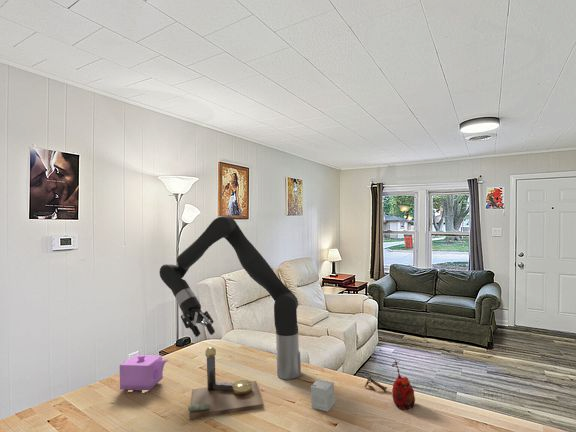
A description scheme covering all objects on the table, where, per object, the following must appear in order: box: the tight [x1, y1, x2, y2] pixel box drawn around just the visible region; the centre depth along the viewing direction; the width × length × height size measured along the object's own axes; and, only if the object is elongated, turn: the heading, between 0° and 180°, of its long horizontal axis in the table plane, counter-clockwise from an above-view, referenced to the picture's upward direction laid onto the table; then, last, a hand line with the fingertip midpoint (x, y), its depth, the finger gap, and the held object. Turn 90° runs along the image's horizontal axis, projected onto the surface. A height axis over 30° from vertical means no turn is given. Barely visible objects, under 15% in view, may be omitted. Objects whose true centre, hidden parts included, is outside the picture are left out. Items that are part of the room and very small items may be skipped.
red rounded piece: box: [391, 358, 416, 411], centre depth 116 cm, size 8×7×15 cm
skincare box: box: [310, 379, 336, 413], centre depth 118 cm, size 6×6×7 cm
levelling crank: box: [204, 346, 252, 396], centre depth 128 cm, size 18×7×15 cm, turn 78°
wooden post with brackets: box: [364, 375, 388, 393], centre depth 128 cm, size 2×8×4 cm, turn 62°
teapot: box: [119, 354, 170, 391], centre depth 135 cm, size 20×10×12 cm, turn 82°
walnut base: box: [188, 380, 264, 420], centre depth 123 cm, size 24×18×3 cm
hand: (205, 334), depth 137 cm, fingers open, 8 cm apart
